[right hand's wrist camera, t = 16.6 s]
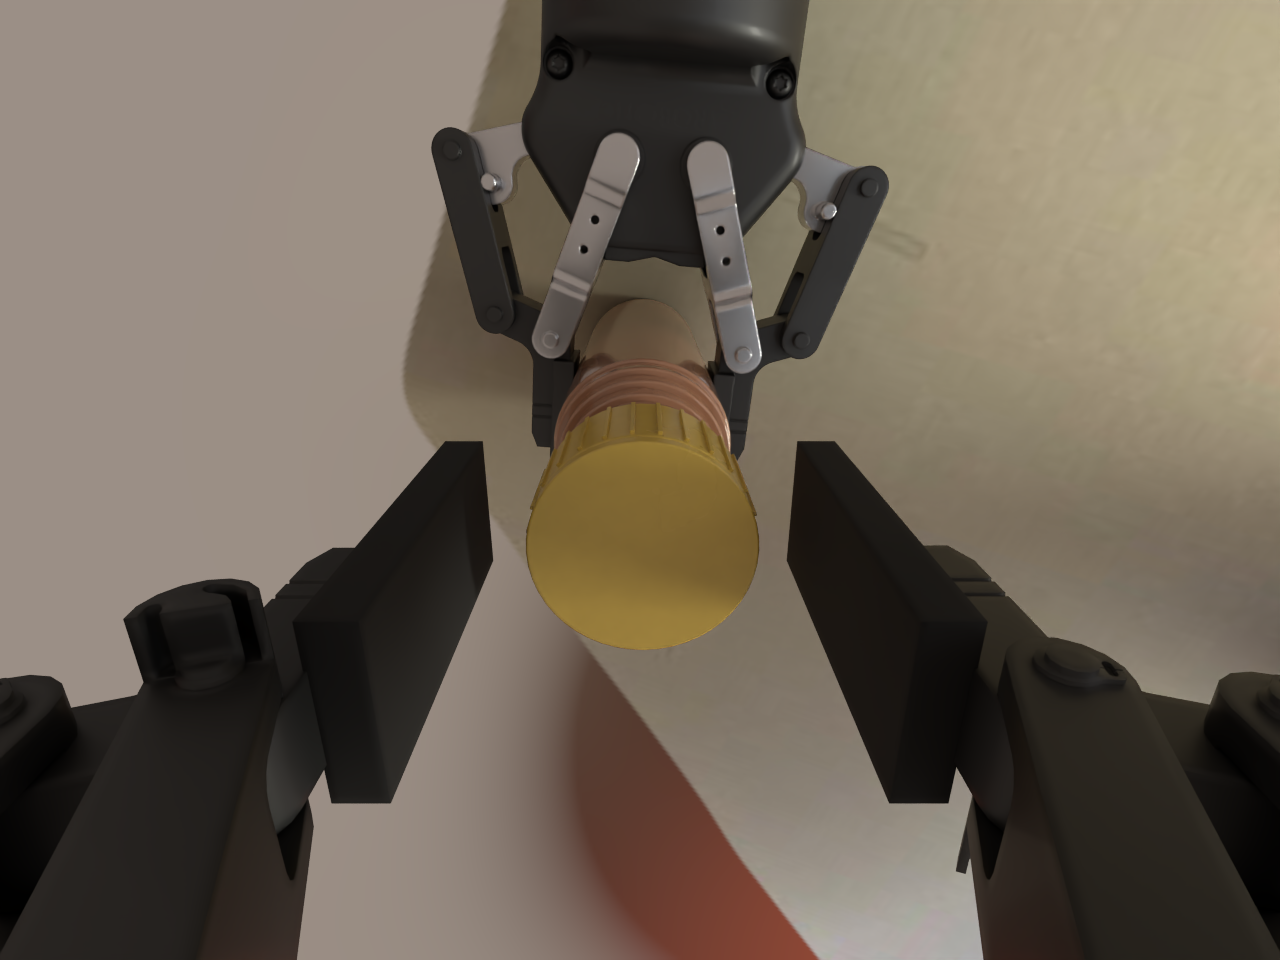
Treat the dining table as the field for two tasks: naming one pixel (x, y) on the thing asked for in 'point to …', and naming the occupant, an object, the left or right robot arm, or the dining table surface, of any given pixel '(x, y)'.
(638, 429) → the cap
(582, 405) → the bottle
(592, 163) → the left robot arm
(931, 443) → the dining table surface
